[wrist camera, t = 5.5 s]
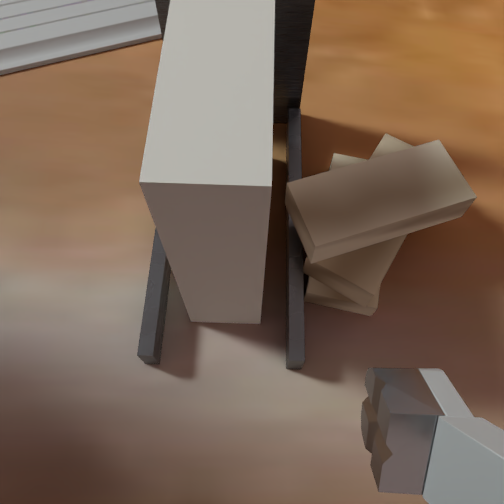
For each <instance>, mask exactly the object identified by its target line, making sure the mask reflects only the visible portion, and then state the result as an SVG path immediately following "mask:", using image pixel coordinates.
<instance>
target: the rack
mask: <svg viewBox="0 0 504 504" xmlns="http://www.w3.org/2000/svg"><path fill="white" fill-rule="evenodd" d="M155 3H156V9H157V14H158V19H159V24H160V29H161V34H162V39H163V40H164V34H165V28H166V22H167V16H168V10H169V5H170V0H155ZM314 4H315V0H275V30H274V88H273V123H287V127H286V187H287V183H288V182H292V181H295V180H299V179H302V167H301V110H300V102H301V95H302V88H303V81H304V74H305V67H306V60H307V53H308V46H309V39H310V32H311V25H312V18H313V11H314ZM170 274H171V267H170V264H169V261H168V258H167V256H166V253H165V250H164V248H163V245H162V242H161V240H160V237H159V234H158V231H157V229H155V236H154V243H153V249H152V256H151V263H150V270H149V277H148V284H147V291H146V298H145V305H144V312H143V319H142V326H141V333H140V340H139V346H138V353H137V355H138V357H139V358H140V359H141V360H142V361H143V362H144V363H145V364H160V356H161V348H162V340H163V332H164V324H165V315H166V307H167V299H168V291H169V283H170ZM304 362H305V341H304V283H303V244H302V242H301V240H300V237H299V235H298V233H297V230H296V228H295V226H294V224H293V221H292V219H291V217H290V214H289V212H288V210H287V207H286V369H301V368H302V366H303V364H304Z"/></svg>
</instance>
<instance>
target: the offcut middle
mask: <svg viewBox="0 0 504 504" xmlns="http://www.w3.org/2000/svg"><path fill="white" fill-rule="evenodd" d="M411 147H414V146H412V145H410V144H407V143H405V142H403V141H401V140H399V139H397V138H395V137H392V136H390V135H388V134H385V135H384V137H383V138H382V140H381V141H380V143H379V145H378V146H377V148H376V149H375V151H374V152H373V154H372V156H371V157H370V159H373V158H376V157H380V156H383V155H387V154H390V153H394V152H397V151H401V150H404V149H408V148H411ZM406 236H407V234H405V235H402V236H399V237H395V238H392V239H389V240H386V241H383V242H379V243H376V244H373V245H370V246H367V247H363V248H360V249H357V250H354V251H351V252H347V253H344V254H341V255H338V256H335V257H331V258H328V259H325V260H322V261H319V262H315V263H312V264H311V263H310V261H309V258H308V256H307V257H306V260H305V264H304V267H303V273H305V274H307V275H308V276H310V277H312V278H314V279H316V280H317V281H319V282H321V283H323V284H324V285H326V286H328V287H330V288H331V289H333V290H335V291H337V292H338V293H340V294H342V295H344V296H345V297H347V298H349V299H351V300H352V301H354V302H356V303H358V304H359V305H361V306H363V307H366V306H367V304H368V303H369V302H370V300H371V299H372V297H373V296H374V295H375V293H376V291H377V289H378V287H379V285H380V284H381V282H382V280H383V278H384V276H385V274H386V273H387V271H388V269H389V267H390V265H391V263H392V262H393V260H394V258H395V256H396V254H397V252H398V251H399V249H400V247H401V245H402V243H403V241H404V240H405V238H406Z"/></svg>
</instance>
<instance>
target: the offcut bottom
mask: <svg viewBox="0 0 504 504" xmlns="http://www.w3.org/2000/svg"><path fill="white" fill-rule="evenodd" d="M366 160H367V159H362V158H357V157H352V156H346V155H341V154H336V153H334V154H333V158H332V161H331V165H330V169H329V171H330V170H334V169H337V168H341V167H345V166H348V165H352V164H355V163H359V162H362V161H366ZM379 292H380V285H379V287H378V289H377V291H376V293H375V295H374V296H373V297H372V299H371V300H370V302H369V303H368V304H367V306H366V307H363V306H361V305H359V304H358V303H356V302H354V301H352V300H351V299H349V298H347V297H345V296H344V295H342V294H340V293H338V292H337V291H335V290H333V289H331V288H330V287H328V286H326V285H324V284H323V283H321V282H319V281H317V280H316V279H314V278H312V277H310V276H308V280H307V285H306V290H305V295H304V301H305V302H309V303H314V304H318V305H323V306H327V307H332V308H336V309H340V310H345V311H349V312H354V313H358V314H363V315H367V316H372V314H373V313H374V312H375V311H376V309H377V308H378V300H379Z"/></svg>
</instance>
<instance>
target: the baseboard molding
mask: <svg viewBox="0 0 504 504" xmlns="http://www.w3.org/2000/svg"><path fill="white" fill-rule="evenodd" d="M159 38H162V34H161V29H160V24H159V19H158V14H157V9H156V3H155V0H0V75H3V74H7V73H11V72H16V71H20V70H25V69H29V68H33V67H38V66H42V65H46V64H51V63H55V62H59V61H64V60H68V59H72V58H77V57H81V56H85V55H90V54H94V53H99V52H103V51H107V50H112V49H116V48H120V47H125V46H129V45H133V44H138V43H142V42H146V41H151V40H155V39H159Z"/></svg>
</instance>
